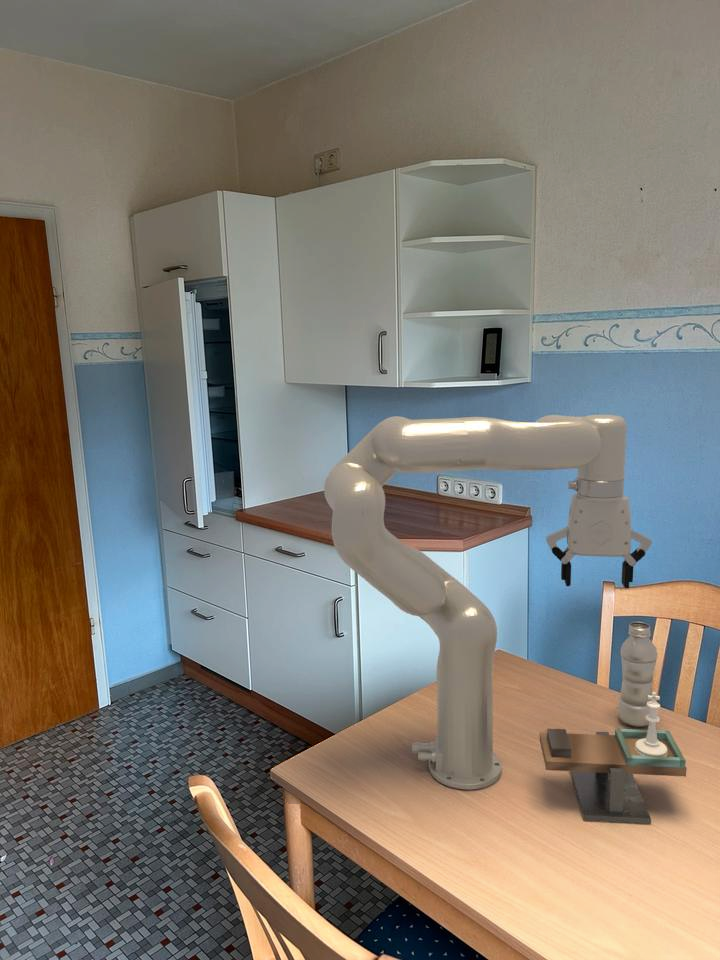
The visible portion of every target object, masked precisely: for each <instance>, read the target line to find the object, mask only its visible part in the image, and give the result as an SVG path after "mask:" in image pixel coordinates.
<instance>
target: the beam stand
mask: <svg viewBox="0 0 720 960" xmlns="http://www.w3.org/2000/svg"><path fill="white" fill-rule="evenodd" d="M595 735H610V732H609V731H596V732H595ZM569 773H570V776H571V777H570V778H571V780H572V784H573V786H574V788H573V789H574V792H575V795H576V798H577V802H578V806H579V809H580V813H581V817H582V820H583V822H594V823H595V822H598V823H617V824H633V825H634V824H636V825H637V824H638V825H639V824H640V825H651V822H652V818H651V815H650V813H649V811H648V809H647V806H646V803H645V801H644V799H643V796H642V794H641V791H640V789H639V787H638V784H637V782H636V780H635V777H634V774H624V770H623V768H609V773H599V772H577V771H569Z"/></svg>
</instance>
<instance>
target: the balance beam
mask: <svg viewBox="0 0 720 960" xmlns="http://www.w3.org/2000/svg"><path fill="white" fill-rule="evenodd" d="M647 732H648V729H635V728H634V729H632V728H631V729H630V728H629V729H627V728H614V735H613V734H609V735H596V734H591V733H590V734H589V733H569V732H567V729H565V728H546V732H543V731H540V732H539V743H540V744H539V745H540V749H541V752H542V753H541V754H542V757H543V761H544V767H545V770H546V771H559V772H562V771H563V772H570V771H577V772H599V773H609V768H623V770H624V774H633V775H641V776H643V775H646V776H665V777H687V766H686V763H687V762H686V759H685V756H684V755H683V753H682V751H681V749H680V747H679V746H678V744H677V742H676V740H675V738H674V737H673V735H672V733H671V731H670V730H661V729H660V730H657V729H656V732H657V740H658V741H660V742H662V743H663V744H664V745H665V746H666V747H667V751H668V755H667V756H666V757H658V756H642V755H640V754H638V753H637V752H636V750H635V743H636V742H637V741H638V740H640V739H645V738H646V736H647Z"/></svg>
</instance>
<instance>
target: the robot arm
mask: <svg viewBox="0 0 720 960" xmlns="http://www.w3.org/2000/svg"><path fill="white" fill-rule="evenodd" d="M626 444H627V422H626V420H625V418H623V417H622V416H620V415H615V414H589V415H586V416H570V415H569V416H568V415H561V414H549V415H545V416H543V417H542V416H541V417H540V418H538V419H537V420H535V421H534V422H528V421H524V422H522V421H514V420H513V421H512V420H506V419H499V418H494V417H486V416H485V417H484V416H469V417H468V416H467V417H465V416H464V417H453V418H450V417H449V418H448V417H447V418H428V419H427V418H421V419H410V418H407V417H405V416H399V415H398V416H395V415H393V416H390V417H387V418H385V419H384V420H382V421H380V422H379V423H378V424H377V425H375V426H374V427H373V428H372V429H371V430H370V431H369V432H368V433H367V434H366V435H365V436H364V437H363V438H362V439H361V440H360V441H359V442H358V443H357V444H356V445H355V446H354V447H353V448H352V449H351V450H350V451H348V453H347V454H346V455H345V456H344V457H343V458H342V459H341V460H339V462H338V463H336V465H334V467H333V468H332V469H331V470H330V472H329V473H328V475H327V477H326V478H325V480H324V486H323V487H324V488H323V491H324V492H323V494H324V498H325V500H326V502H327V504H328V506H329V507H330V508H331V510H332V517H331V537H332V538H331V539H332V542H333V546H334V548H335V550H336V552H337V554H338V556H339V557H340V559H341V560H342V561H343V562H344V563H345V565H347V566H348V567H349V568H350V569H351V570H353V571H354V572H355V573H356V574H357V575H359V576H360V577H361V578H362V579H364V580H365V582H367V583H368V584H369V585H370V586H372V587H373V588H374V589H375V590H377V591H378V592H380V594H382V595H383V596H384V597H386V598H387V599H389V600H390V602H392V604H393V605H395V607H397V608H398V609H400V611H402V612H404V613H406V614H408V615H410V616H415V617H419V618H420V619H421V620H422V621H424V622H425V623H426V624H427V625H428V626H429V627H430V628H431V630H432V631H433V632H434V634H435V635H436V636H437V638H438V643H439V651H438V657H437V664H436V672H435V673H436V679H435V680H436V726H437V731H436V734H437V735H436V736H435V741H429V742H430V743H426V742H416V741H415V742H414V741H413V742H412V743H411V744H412V745H411V753H412V754H413V755H418V756H417V757H418V758H417V759H418V761H421V762H422V761H428V769H429V772H430V774H431V775H432V777H433V778H434V779H435V780H436V781H437V782H439V783H441V784H443V785H445V786H447V787H450V788H453V789H457V790H468V791H470V790H479V789H484V788H487V787H489V786H491V785H493V784H495V783H496V782H497V781H498V780H499V779H500V777H501V775H502V770H503V769H502V768H503V767H502V765H503V764H502V762H501V759H500V758H499V757H498V755H497V754H496V753H494V752H493V751H494V750H493V747H494V746H493V743H494V742H493V738H494V737H493V736H494V735H493V733H494V731H493V727H494V725H493V724H494V723H493V720H494V719H493V718H494V717H493V716H494V713H493V712H494V711H493V708H494V707H493V706H494V702H493V701H494V700H493V698H494V695H493V694H494V693H493V690H494V689H493V686H494V685H493V679H494V677H493V674H494V659H495V652H496V647H497V640H498V627H497V626H498V625H497V623H496V620H495V617H494V615H493V613H492V612H491V610H490V609H489V607H488V606H487V605H486V604H485V603H484V602H482V600H480V599H479V597H478V596H476V595H475V594H474V593H473V592H472V591H470V590H469V588H467V587H466V586H465V585H464V584H462V583H461V582H460V581H459V580H458V579H456V578H455V577H454V576H452V575H451V574H450V573H449V572H447V571H446V570H445V569H444V568H443V567H441V566H440V565H439V564H438V563H437V562H435V561H433V559H431V558H430V557H429V556H427V555H426V554H425V553H424V552H423V551H421V550H420V549H418V548H416V547H413V546H410V545H409V546H408V545H405V544H404V543H403V542H402V541H401V540H400V539H399V538H398V537H396V536H395V535H393V534H392V533H391V532H390V531H389V530H388V529H387V528H386V526H385V521H384V517H385V515H384V514H385V509H386V493H385V492H384V488H383V486H385V485H386V484H387V483H388V482H389V480H391V478H392V477H394V476H395V474H397V472H398V473H403V474H425V473H426V474H427V473H441V472H442V473H443V472H456V471H473V470H474V471H476V470H478V471H479V470H485V471H553V470H555V471H557V470H568V469H571V470H572V469H577V473H576V478H575V480H572V481H571V480H568V482H567V484H568V485H567V486H568V487H567V488H568V490H573V491H575V492H576V493H574V494H572V498H571V502H570V505H569V506H570V507H569V513H568V519H567V526H566V527H564V528H561V529H559V530H556V531H555V532H553V533H551V534H548V535H546V537H545V539H546V540H545V541H546V543H547V545H548V546H549V548H550V551H551V553H552V554H553V555H554V556H555V557H556V558H557V559H558V560H559V561H560V562H561V565H560V566H561V568H560V569H561V573H560V579H561V581H564V584H565V587H570V586H571V585H572V582H571V581H572V564H571V560H572V559H573V558H574V557H575V556H579V557H581V556H583V557H584V556H585V557H613V558H618V557H622V558H623V559H624V560H623V561H622V563H621V564H622V565H621V566H622V567H621V584H622V586H623V588H624V589H630V583H633V582H634V580H633V579H634V567H635V566H636V565H637V563H638V562H639V561H640V560H641V559H643V557H645V555H646V553H647V551H648V550H649V549H650V547H651V545H652V544H653V542H652V540H651V538H649V537H647V536H645V535H643V534H641V533H639V531H636V530H634V529H632V521H631V520H632V519H631V518H632V517H631V507H630V506H631V505H630V500H629V497H628V496H626V495H624V490H625V489H624V487H625V485H624V484H625V470H626V469H625V466H626V448H627V447H626ZM564 538H566V544H567V547H566V548H564V550H562V549H561V548H560V547H559V546H558V544H557V542H558V541H560V540H562V539H564ZM632 540H634V541H636V542H638V543H639V545H638V547H637V548H636V549H635V550H633V551H632V552H631V549H632Z"/></svg>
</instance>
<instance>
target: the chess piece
mask: <svg viewBox="0 0 720 960" xmlns="http://www.w3.org/2000/svg"><path fill="white" fill-rule="evenodd" d="M648 699H652V701H649V702H647V708H648V711H649V714H648V715H646V720H648V721H649V725H648V726H647V730H648V732H647V736H646V738H645V739H640V740H638V741H637V742H636V743H635V750H636V752H637V753H638V754H640V755H642V756H658V757H666V756H667V755H668V751H667V747H666V746H665V745H664V744H663V743H662V742H660V741H658V740H657V732H656V730H657V723H659V722H660V721H661V718H660V716H658V712H659V710H660V708H661V704H660V703H659V702H657V701H660V700H661V697H660V695H657V693H656V691H652V696H650V695H648Z"/></svg>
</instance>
